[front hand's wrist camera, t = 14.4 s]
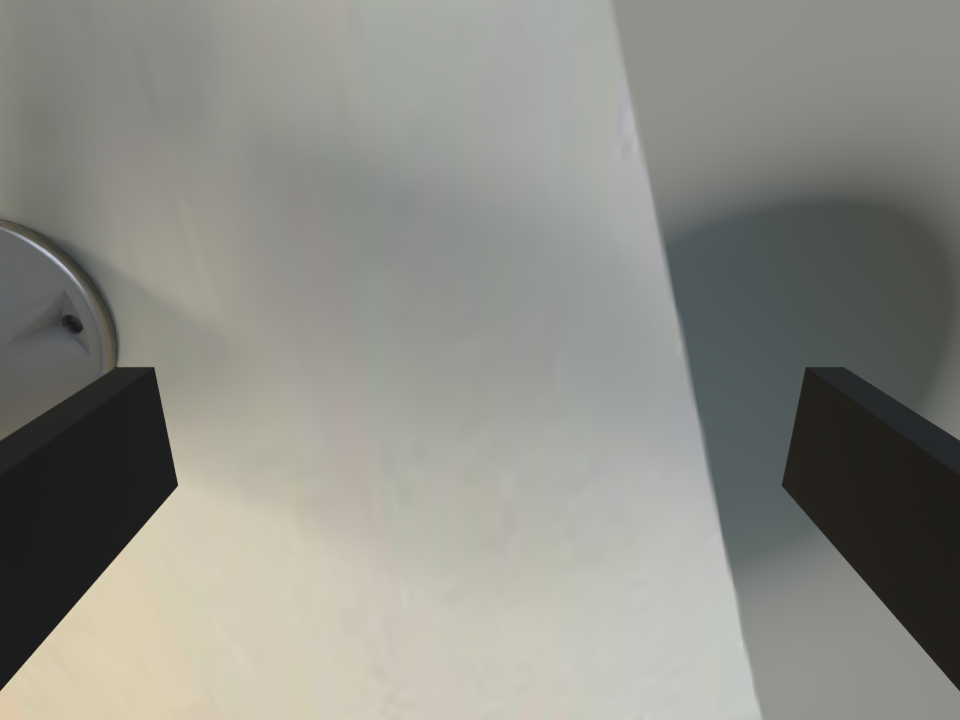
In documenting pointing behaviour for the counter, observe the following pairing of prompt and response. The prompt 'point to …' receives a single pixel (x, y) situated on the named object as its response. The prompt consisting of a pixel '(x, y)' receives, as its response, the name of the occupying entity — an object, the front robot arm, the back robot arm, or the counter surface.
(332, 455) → the counter surface
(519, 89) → the counter surface
